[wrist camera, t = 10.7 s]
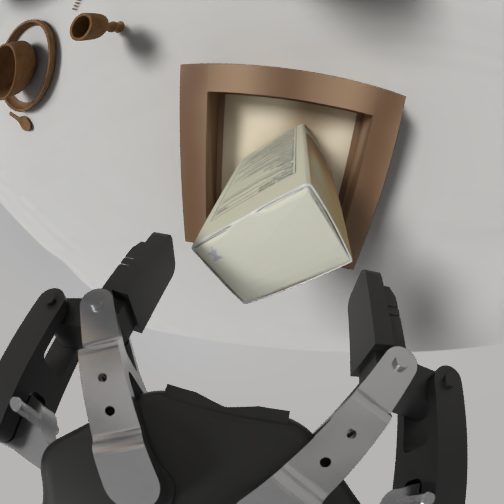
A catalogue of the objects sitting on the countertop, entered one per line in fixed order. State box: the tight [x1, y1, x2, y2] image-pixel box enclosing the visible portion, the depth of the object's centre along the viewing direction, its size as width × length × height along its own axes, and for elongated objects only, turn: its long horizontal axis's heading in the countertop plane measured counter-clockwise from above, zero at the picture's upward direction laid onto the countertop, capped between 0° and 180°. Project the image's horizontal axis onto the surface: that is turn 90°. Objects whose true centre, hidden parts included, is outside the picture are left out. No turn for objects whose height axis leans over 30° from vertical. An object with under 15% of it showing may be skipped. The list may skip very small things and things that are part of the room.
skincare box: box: [192, 124, 353, 304], centre depth 17 cm, size 6×4×12 cm
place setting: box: [0, 0, 124, 131], centre depth 17 cm, size 18×20×6 cm
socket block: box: [180, 64, 406, 269], centre depth 21 cm, size 15×15×4 cm
